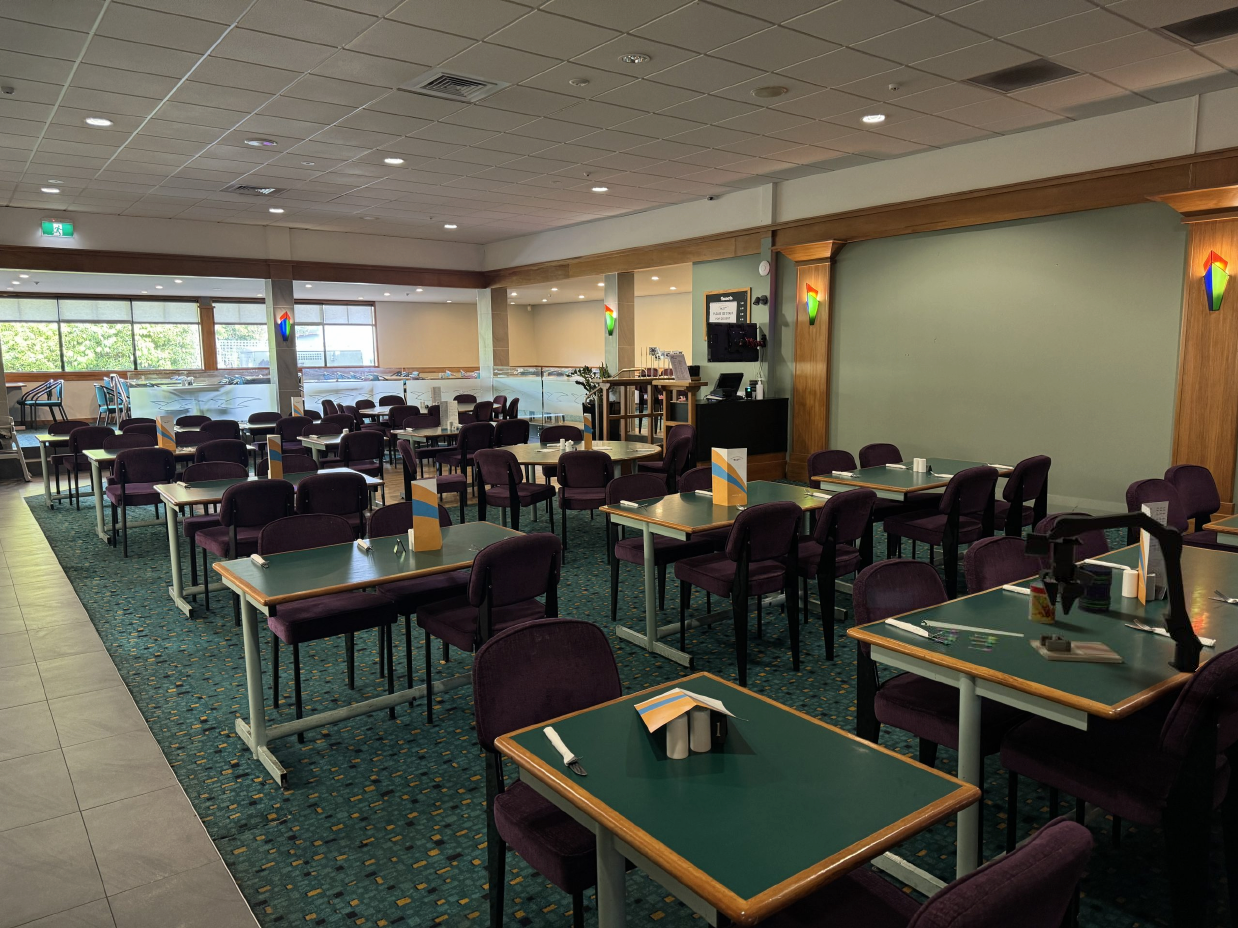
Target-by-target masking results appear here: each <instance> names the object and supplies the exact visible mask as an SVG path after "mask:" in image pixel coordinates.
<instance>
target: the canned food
mask: <svg viewBox="0 0 1238 928" xmlns="http://www.w3.org/2000/svg"><path fill="white" fill-rule="evenodd" d="M1029 587H1030V588H1029V603H1028V605H1029V606H1028V620H1030V621H1031V622H1035V623H1041V624H1053V623H1056V612H1057V611H1056V609H1057V607H1056V606H1057V603H1056V604H1055V606H1051V604H1050V602H1049V599H1048V597H1047V594H1046V592H1045V590H1044V587H1043V585H1042V583H1041V582H1040V581H1032V582H1030V584H1029Z"/></svg>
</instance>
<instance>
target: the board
mask: <svg viewBox="0 0 1238 928" xmlns="http://www.w3.org/2000/svg"><path fill="white" fill-rule="evenodd" d="M1052 635H1053V640H1058V635H1059V634H1052ZM1069 641H1070V642H1071V652H1051V651H1047V650H1045V649H1046V646H1041V645H1040V644H1039V639H1030V640H1029V644H1030V645H1031V646H1032V647H1033V648H1034V649H1035V650H1036V651H1037V652H1038V653H1040V654H1041V656H1043V657H1044V658H1045V659H1046V660H1047V661H1048V660H1049V661H1069V662H1070V661H1073V662H1074V661H1075V662H1095V663H1116V664H1117V663H1120V664H1122V663H1123V658H1122V657H1121V656H1119V654H1118V653H1116V652H1115V651H1114V650H1112V649H1111V648H1110V647H1108V646H1106V645H1105V644H1103V643H1102V642H1099V641H1077V640H1076V641H1075V640H1073V641H1072V640H1069Z"/></svg>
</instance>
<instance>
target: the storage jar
mask: <svg viewBox="0 0 1238 928" xmlns="http://www.w3.org/2000/svg"><path fill="white" fill-rule="evenodd" d="M1080 565H1081V566H1083V567H1085V571H1087V572H1089V573H1091V574H1093V575H1095V578H1094V580H1093V582H1092V584H1091V585H1088V584H1087V583H1084V582H1082V581H1079V580H1078V583H1080V584H1082V585H1083V586H1084V587H1085V588H1086V595H1083V596H1082V597H1079V598H1077V604H1078V605H1077V609H1078V610H1079V611H1082V612H1084V613H1088V614H1097V615H1106V614H1109V613H1110V611H1111V610H1110V608H1111V604H1112V601H1111V600H1112V596H1111V587H1112V584H1113V568H1112V567H1109V566H1106V565H1103V564H1102V565H1101V564H1090V563H1089V564H1080Z"/></svg>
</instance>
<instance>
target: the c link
mask: <svg viewBox="0 0 1238 928" xmlns="http://www.w3.org/2000/svg"><path fill="white" fill-rule="evenodd" d="M1053 635H1054V634H1044V633H1043V634H1041V633H1040V634H1039V639H1038V640H1039V644H1040V645H1041V646H1046V649H1045V650H1047V651H1051V652H1071V642H1070V641H1071V640H1070V639H1068V638H1067V637H1065V636H1064V635H1062V634H1057V635H1058V640H1053Z"/></svg>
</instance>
